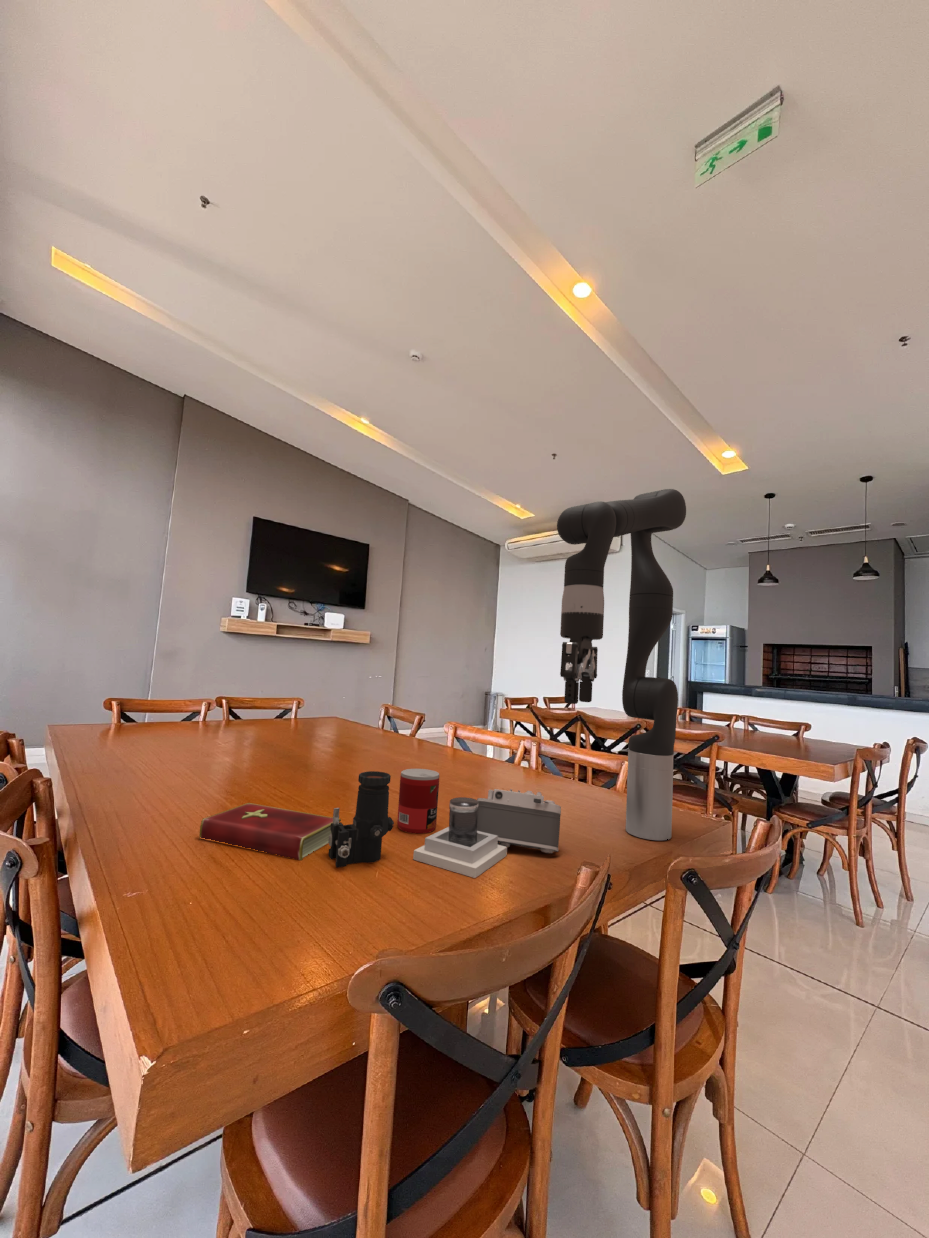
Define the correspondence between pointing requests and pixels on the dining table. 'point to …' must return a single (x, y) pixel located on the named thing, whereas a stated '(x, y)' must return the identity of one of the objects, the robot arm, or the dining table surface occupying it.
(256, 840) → the hardcover book
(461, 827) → the lens
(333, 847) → the scope
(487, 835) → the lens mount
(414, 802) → the canned food
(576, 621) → the robot arm
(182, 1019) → the dining table surface
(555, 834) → the camera
